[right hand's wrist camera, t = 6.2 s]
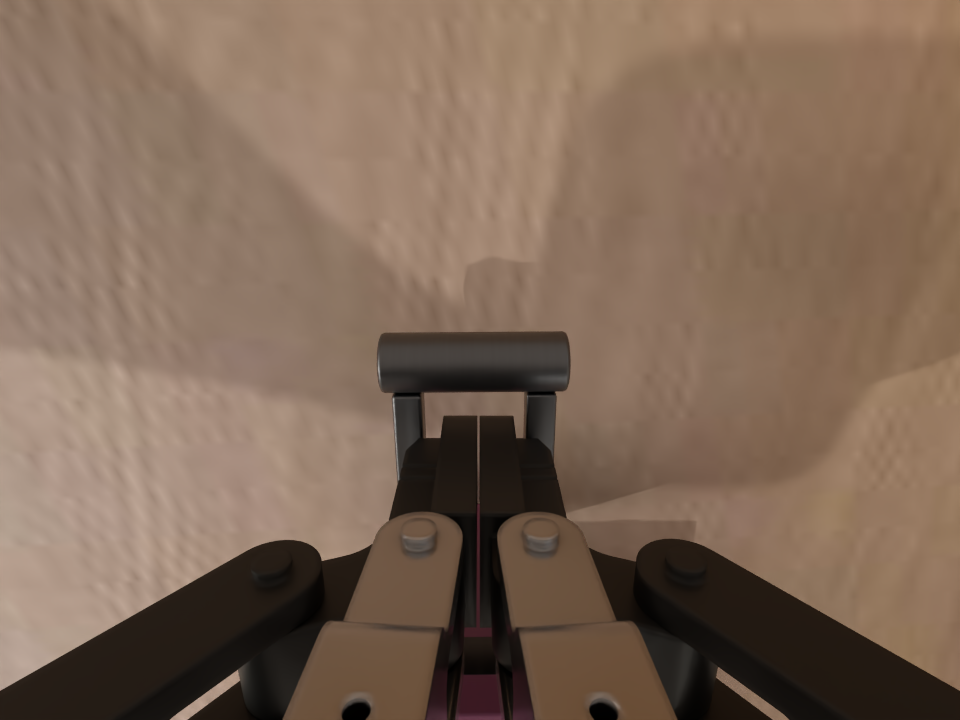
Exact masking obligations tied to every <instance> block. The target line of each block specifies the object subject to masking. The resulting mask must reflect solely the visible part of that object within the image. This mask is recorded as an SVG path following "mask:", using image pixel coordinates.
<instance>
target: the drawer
mask: <svg viewBox="0 0 960 720" xmlns="http://www.w3.org/2000/svg"><path fill="white" fill-rule="evenodd" d="M377 374H378V382H379V386H380V389H381V391H382V392H385V393H394V394H393V397H392V406H393V421H394V436H395V451H396V466H397V482H398V481H399V478H400V472H401V468H402V464H403V460H404V456H405V452H406V450H407V449H408V448H409V447H410V446H411V445H412V444H413V443H414V442H415V441H416V440H417V439H418V438H426V428H425V405H424V393H431V392H525V393H524V435H523V438H538V439H539V440H540V441H541V442H542V443H544V444H545V445H546V446H547V447H548V448H549V449H550V450H551V453H552V457H553V462H554V441H555V420H556V398H557V396H556V393H555V391H565V390H566V389H567V387H568V384H569V379H570V346H569V340H568V337H567V334H566V333H565V332H562V331H560V332H434V333H383V334H382V335H381V336H380V339H379V343H378V350H377ZM458 720H501V711H500V703H499V694H498V686H497V678H496V657H495V655H494V652H493V648H492V629H491V628H480V504H477V616H476V628H464V676H463V685H462V693H461V702H460V710H459V718H458Z"/></svg>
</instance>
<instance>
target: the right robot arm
mask: <svg viewBox="0 0 960 720" xmlns="http://www.w3.org/2000/svg"><path fill="white" fill-rule="evenodd" d="M476 616H477V416H444V417H443V424H442V432H441V438H418V439H417V440H416V441H415V442H414V443H413V444H412V445H411V446H410V447H409V448H408V449H407V450H406V452H405V456H404V460H403V464H402V468H401V472H400V478H399V481H398V485H397V489H396V493H395V497H394V501H393V506H392V510H391V514H390V518H389V521H388V522H387V523H386V524H384V525H383V526H382V527H381V528H380V530H379V531H378V533H377V535H376V537H375V539H374V542H373V544H372V545H370V546H369V547H367V548H365V549H363V550H361V551H359V552H356V553H353V554H350V555H347V556H343V557H338V558H334V559H329V560H325V561H321V557H320V554H319V552H318V551H317V550H316V549H315V548H314V547H313V546H311V545H309V544H307V543H304V542H301V541H295V540H280V541H273V542H269V543H265V544H262V545H259V546H256V547H254V548H252V549H250V550H248V551H246V552H244V553H242V554H241V555H239V556H237V557H235V558H234V559H232V560H230V561H228V562H227V563H225V564H223V565H221V566H220V567H218V568H216V569H214V570H212V571H211V572H209V573H207V574H205V575H204V576H202V577H200V578H198V579H197V580H195V581H193V582H191V583H190V584H188V585H186V586H184V587H183V588H181V589H179V590H177V591H175V592H174V593H172V594H170V595H168V596H167V597H165V598H163V599H161V600H160V601H158V602H156V603H154V604H153V605H151V606H149V607H147V608H146V609H144V610H142V611H140V612H138V613H137V614H135V615H133V616H131V617H130V618H128V619H126V620H124V621H123V622H121V623H119V624H117V625H116V626H114V627H112V628H110V629H109V630H107V631H105V632H103V633H101V634H100V635H98V636H96V637H94V638H93V639H91V640H89V641H87V642H86V643H84V644H82V645H80V646H79V647H77V648H75V649H73V650H72V651H70V652H68V653H66V654H64V655H63V656H61V657H59V658H57V659H56V660H54V661H52V662H50V663H49V664H47V665H45V666H43V667H42V668H40V669H38V670H36V671H35V672H33V673H31V674H29V675H28V676H26V677H24V678H22V679H20V680H19V681H17V682H15V683H13V684H12V685H10V686H8V687H6V688H5V689H3V690H1V691H0V720H170V719H171V718H172V717H173V716H175V715H176V714H177V713H178V712H180V711H181V710H183V709H184V708H185V707H187V706H188V705H189V704H191V703H192V702H194V701H195V700H196V699H198V698H199V697H201V696H202V695H203V694H205V693H206V692H207V691H209V690H210V689H212V688H213V687H214V686H216V685H217V684H218V683H220V682H221V681H223V680H224V679H225V678H227V677H228V676H230V675H231V674H232V673H234V672H235V671H236V670H238V672H239V677H240V681H239V682H238V683H236V684H235V685H234V686H232V687H231V688H230V689H228V690H227V691H226V692H224V693H223V694H222V695H220V696H219V697H218V698H216V699H215V700H214V701H212V702H211V703H209V704H208V705H207V706H205V707H204V708H203V709H201V710H200V711H199V712H197V713H196V714H195V715H193V716H192V717H191V718H189V719H188V720H458V718H459V710H460V702H461V693H462V685H463V676H464V628H476ZM480 628H491V629H492V648H493V652H494V655H495V657H496V678H497V686H498V694H499V703H500V711H501V720H772V719H771V718H769V717H768V716H767V715H765V714H764V713H763V712H761V711H760V710H759V709H757V708H756V707H755V706H753V705H752V704H751V703H749V702H748V701H746V700H745V699H744V698H742V697H741V696H740V695H738V694H737V693H736V692H734V691H733V690H732V689H730V688H729V687H728V686H726V685H725V684H724V683H722V682H721V681H720V680H718V679H717V678H716V674H717V669H718V667H719V668H721V669H722V670H724V671H725V672H726V673H728V674H729V675H730V676H732V677H733V678H735V679H736V680H737V681H739V682H740V683H742V684H743V685H744V686H746V687H747V688H748V689H750V690H751V691H753V692H754V693H755V694H757V695H758V696H759V697H761V698H762V699H764V700H765V701H766V702H768V703H769V704H771V705H772V706H773V707H775V708H776V709H777V710H779V711H780V712H781V713H783V714H784V715H785V716H786V717H787V718H788V719H789V720H960V691H959V690H957V689H955V688H954V687H952V686H950V685H948V684H947V683H945V682H943V681H941V680H940V679H938V678H936V677H934V676H932V675H931V674H929V673H927V672H925V671H924V670H922V669H920V668H918V667H917V666H915V665H913V664H911V663H910V662H908V661H906V660H904V659H903V658H901V657H899V656H897V655H895V654H894V653H892V652H890V651H888V650H887V649H885V648H883V647H881V646H880V645H878V644H876V643H874V642H873V641H871V640H869V639H867V638H866V637H864V636H862V635H860V634H859V633H857V632H855V631H853V630H851V629H850V628H848V627H846V626H844V625H843V624H841V623H839V622H837V621H836V620H834V619H832V618H830V617H829V616H827V615H825V614H823V613H822V612H820V611H818V610H816V609H814V608H813V607H811V606H809V605H807V604H806V603H804V602H802V601H800V600H799V599H797V598H795V597H793V596H792V595H790V594H788V593H786V592H785V591H783V590H781V589H779V588H777V587H776V586H774V585H772V584H770V583H769V582H767V581H765V580H763V579H762V578H760V577H758V576H756V575H755V574H753V573H751V572H749V571H748V570H746V569H744V568H742V567H740V566H739V565H737V564H735V563H733V562H732V561H730V560H728V559H726V558H725V557H723V556H721V555H719V554H718V553H716V552H714V551H712V550H710V549H708V548H706V547H704V546H702V545H700V544H697V543H694V542H690V541H686V540H680V539H662V540H656V541H653V542H650V543H649V544H647V545H645V546H644V547H643V548H641V550H640V551H639V552H638V555H637V559H636V562H634V561H630V560H625V559H621V558H617V557H612V556H608V555H605V554H602V553H599V552H597V551H594V550H592V549H591V548H589V547H588V545H587V542H586V540H585V537H584V535H583V533H582V531H581V530H580V529H579V527H578V526H577V525H575V524H574V523H573V522H572V521H570V520H568V519H567V518H566V513H565V509H564V505H563V500H562V496H561V492H560V487H559V483H558V480H557V475H556V470H555V468H554V462H553V457H552V453H551V450H550V449H549V448H548V447H547V446H546V445H545V444H544V443H542V442H541V441H540V440H539V439H538V438H516V434H515V426H514V418H513V416H480Z"/></svg>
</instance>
